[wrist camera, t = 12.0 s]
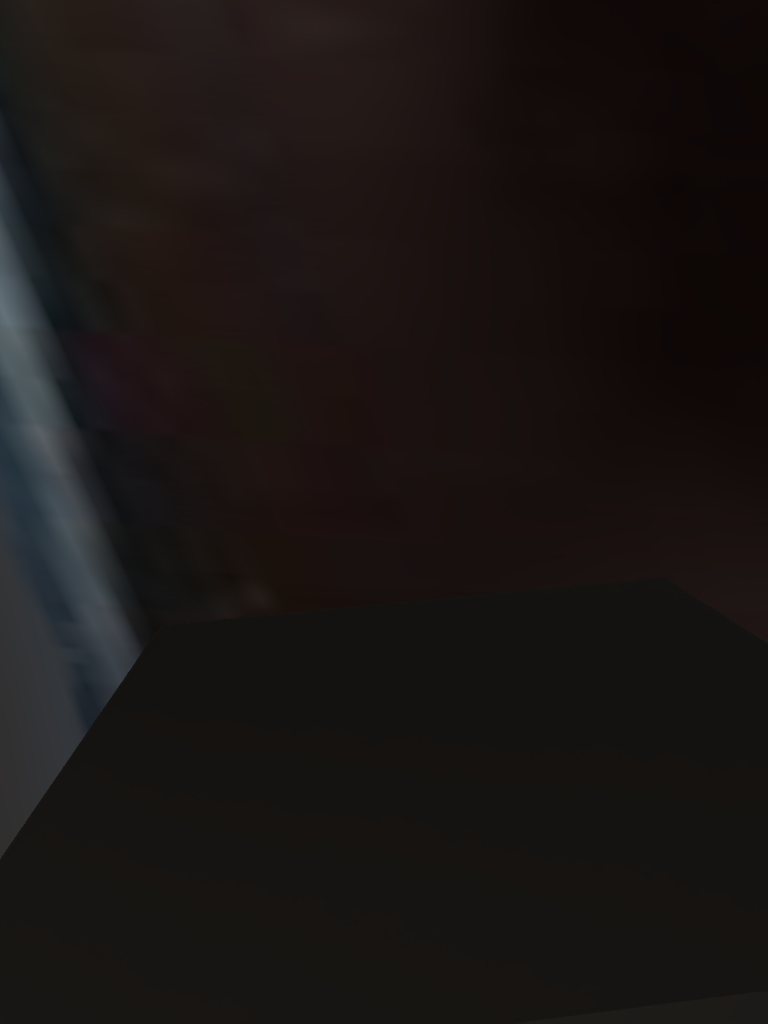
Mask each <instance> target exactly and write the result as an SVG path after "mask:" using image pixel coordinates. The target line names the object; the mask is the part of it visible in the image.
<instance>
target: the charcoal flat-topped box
mask: <svg viewBox="0 0 768 1024" xmlns="http://www.w3.org/2000/svg"><path fill="white" fill-rule="evenodd" d="M0 1024H768V643H766V642H765V641H763V640H761V639H760V638H758V637H757V636H755V635H754V634H752V633H751V632H749V631H748V630H746V629H744V628H743V627H741V626H740V625H738V624H737V623H735V622H734V621H732V620H730V619H729V618H727V617H726V616H724V615H723V614H721V613H720V612H718V611H717V610H715V609H713V608H712V607H710V606H709V605H707V604H706V603H704V602H703V601H701V600H699V599H698V598H696V597H695V596H693V595H692V594H690V593H689V592H687V591H686V590H684V589H682V588H681V587H679V586H678V585H676V584H675V583H673V582H672V581H670V580H668V579H667V578H665V577H657V578H646V579H636V580H626V581H615V582H605V583H595V584H584V585H574V586H563V587H553V588H543V589H532V590H522V591H512V592H501V593H491V594H481V595H470V596H460V597H450V598H439V599H429V600H419V601H408V602H398V603H388V604H377V605H367V606H357V607H346V608H336V609H326V610H315V611H305V612H294V613H284V614H274V615H263V616H253V617H243V618H232V619H222V620H212V621H201V622H191V623H181V624H170V625H161V626H160V627H159V629H158V630H157V632H156V633H155V635H154V636H153V638H152V639H151V640H150V642H149V643H148V645H147V646H146V648H145V649H144V651H143V652H142V654H141V655H140V656H139V658H138V659H137V661H136V662H135V664H134V665H133V667H132V668H131V670H130V671H129V672H128V674H127V675H126V677H125V678H124V680H123V681H122V683H121V684H120V686H119V687H118V689H117V690H116V691H115V693H114V694H113V696H112V697H111V699H110V700H109V702H108V703H107V705H106V706H105V707H104V709H103V710H102V712H101V713H100V715H99V716H98V718H97V719H96V721H95V722H94V723H93V725H92V726H91V728H90V729H89V731H88V732H87V734H86V735H85V737H84V738H83V739H82V741H81V742H80V744H79V745H78V747H77V748H76V750H75V751H74V753H73V754H72V756H71V757H70V759H69V760H68V761H67V763H66V764H65V766H64V767H63V769H62V770H61V772H60V773H59V774H58V776H57V777H56V779H55V781H54V782H53V783H52V785H51V786H50V788H49V789H48V790H47V792H46V793H45V795H44V796H43V798H42V799H41V801H40V802H39V804H38V805H37V806H36V808H35V809H34V811H33V812H32V814H31V815H30V817H29V818H28V820H27V821H26V823H25V824H24V826H23V827H22V828H21V830H20V831H19V833H18V834H17V836H16V837H15V839H14V840H13V842H12V843H11V844H10V846H9V847H8V849H7V850H6V852H5V853H4V855H3V856H2V857H1V859H0Z"/></svg>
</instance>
